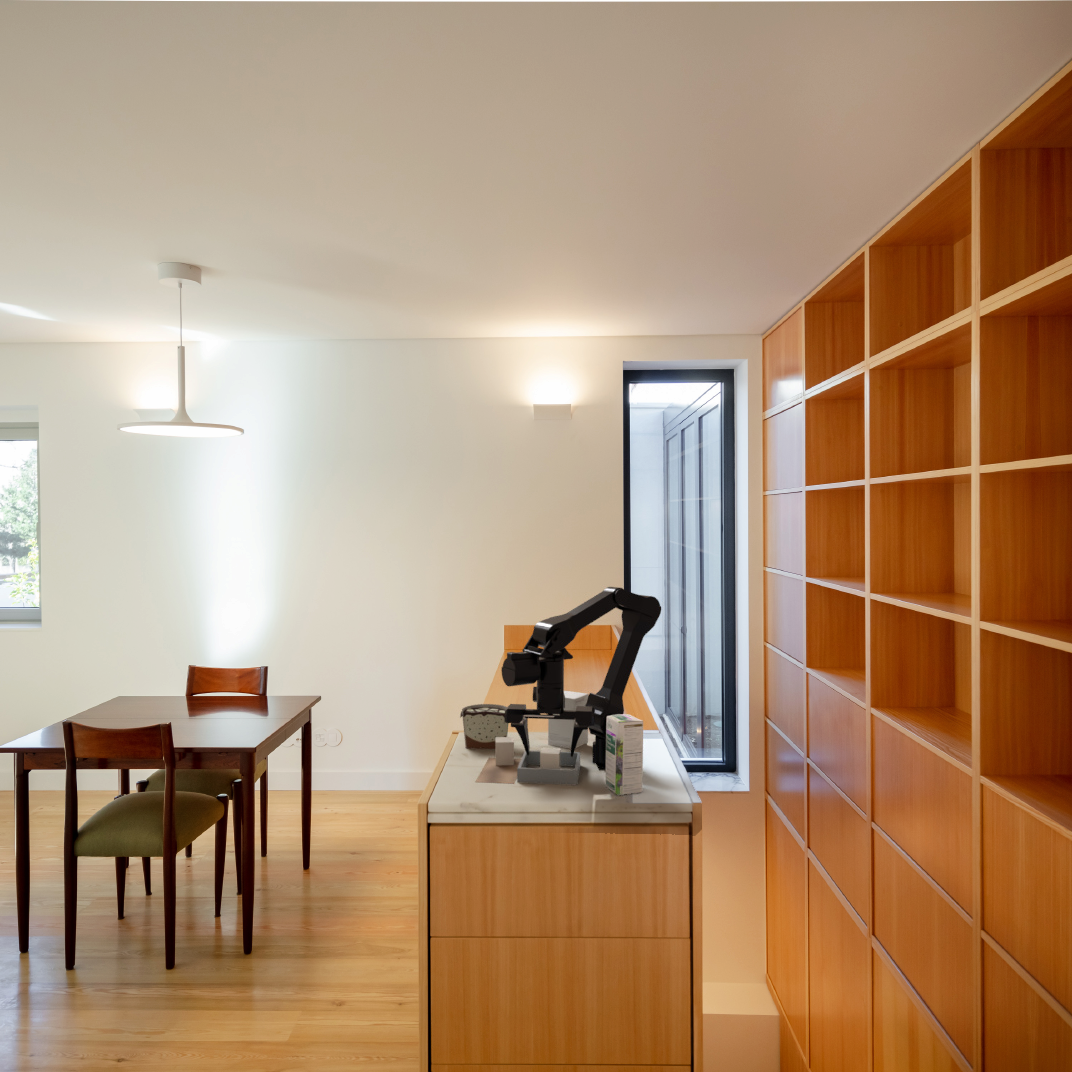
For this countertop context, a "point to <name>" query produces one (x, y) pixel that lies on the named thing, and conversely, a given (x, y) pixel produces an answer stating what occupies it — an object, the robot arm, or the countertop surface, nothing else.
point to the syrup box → (624, 754)
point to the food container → (483, 725)
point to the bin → (549, 770)
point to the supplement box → (567, 723)
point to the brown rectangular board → (498, 772)
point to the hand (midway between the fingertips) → (550, 755)
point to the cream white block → (504, 751)
